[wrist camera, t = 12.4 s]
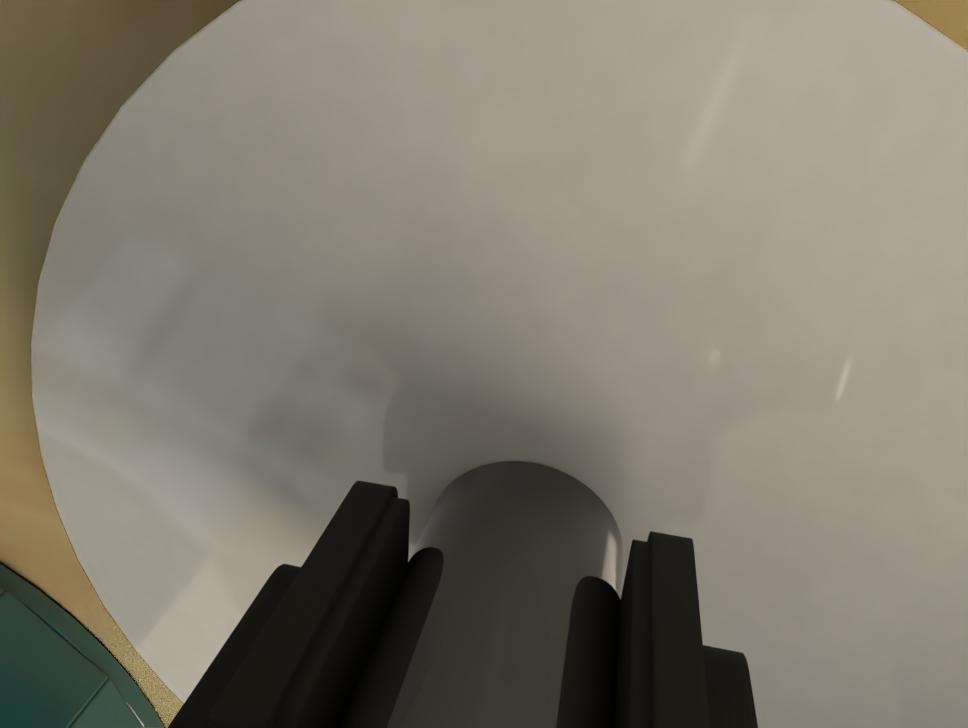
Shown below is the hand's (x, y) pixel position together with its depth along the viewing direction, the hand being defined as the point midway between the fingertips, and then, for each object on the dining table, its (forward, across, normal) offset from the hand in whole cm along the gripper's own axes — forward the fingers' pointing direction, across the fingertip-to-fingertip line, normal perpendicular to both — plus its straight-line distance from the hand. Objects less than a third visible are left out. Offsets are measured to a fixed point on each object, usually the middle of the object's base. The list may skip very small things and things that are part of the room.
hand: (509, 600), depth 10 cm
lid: (+2, 0, 0) cm, 2 cm away
